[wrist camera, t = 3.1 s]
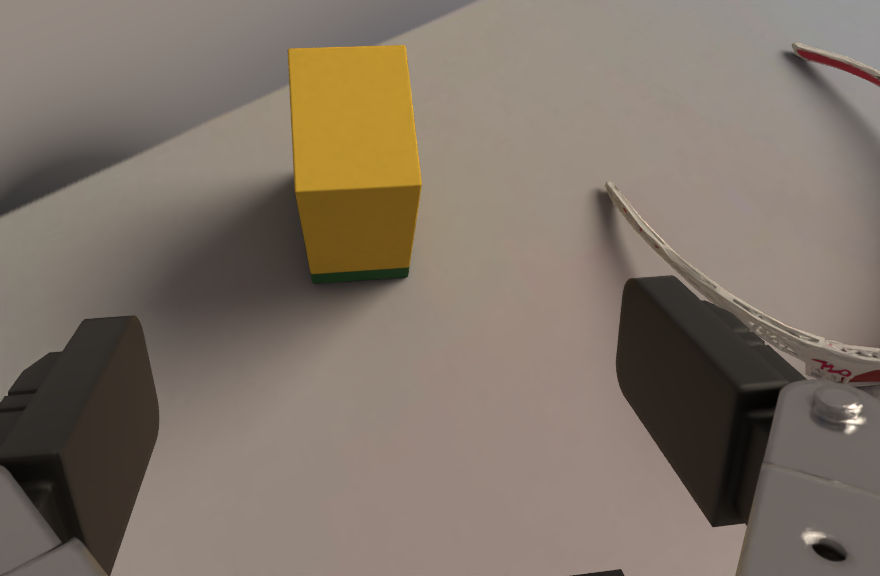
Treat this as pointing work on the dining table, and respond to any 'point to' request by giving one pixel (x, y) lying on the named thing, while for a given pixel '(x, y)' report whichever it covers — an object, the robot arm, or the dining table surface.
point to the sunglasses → (823, 356)
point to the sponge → (354, 160)
